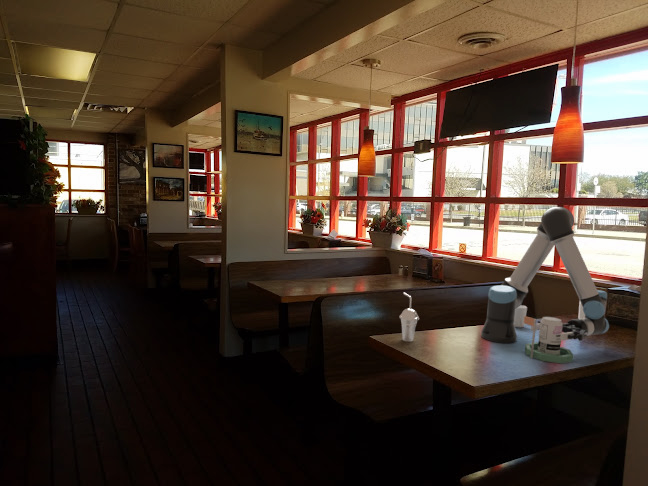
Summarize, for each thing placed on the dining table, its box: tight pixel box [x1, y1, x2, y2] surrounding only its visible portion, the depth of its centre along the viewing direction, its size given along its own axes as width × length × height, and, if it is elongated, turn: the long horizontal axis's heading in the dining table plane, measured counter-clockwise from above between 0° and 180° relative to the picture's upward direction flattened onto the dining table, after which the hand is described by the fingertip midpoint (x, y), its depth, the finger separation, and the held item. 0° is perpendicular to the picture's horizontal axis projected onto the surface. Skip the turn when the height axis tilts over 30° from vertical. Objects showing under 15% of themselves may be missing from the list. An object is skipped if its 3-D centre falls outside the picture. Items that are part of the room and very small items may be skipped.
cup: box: [524, 315, 574, 364], centre depth 191 cm, size 19×17×16 cm
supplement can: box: [537, 316, 564, 356], centre depth 191 cm, size 8×8×15 cm
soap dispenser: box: [577, 301, 585, 319], centre depth 254 cm, size 6×6×22 cm
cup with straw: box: [399, 292, 420, 342], centre depth 203 cm, size 8×9×20 cm
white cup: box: [514, 304, 528, 328], centre depth 237 cm, size 8×8×10 cm
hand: (546, 332), depth 190 cm, fingers open, 13 cm apart
